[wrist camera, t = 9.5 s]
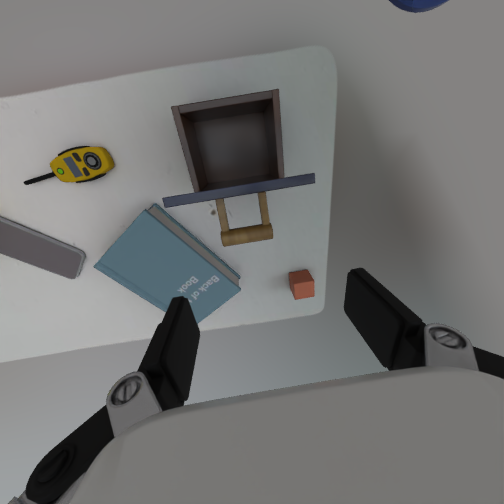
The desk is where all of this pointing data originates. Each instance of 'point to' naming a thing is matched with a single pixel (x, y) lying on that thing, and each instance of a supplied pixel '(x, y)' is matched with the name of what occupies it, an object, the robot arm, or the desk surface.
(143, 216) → the book
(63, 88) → the desk surface
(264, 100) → the chest
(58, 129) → the desk surface
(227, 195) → the navy box cover
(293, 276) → the block
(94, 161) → the yellow plastic handheld
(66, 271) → the smartphone
